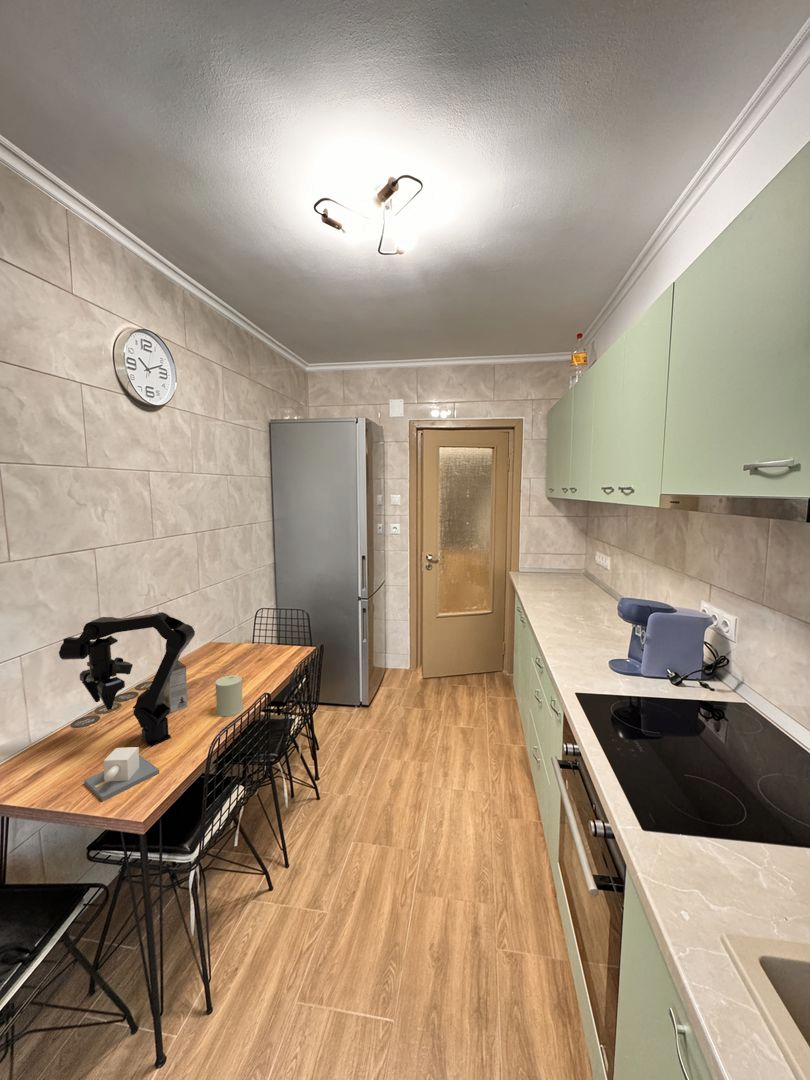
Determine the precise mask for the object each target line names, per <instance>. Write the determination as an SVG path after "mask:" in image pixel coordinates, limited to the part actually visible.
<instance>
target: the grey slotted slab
mask: <svg viewBox="0 0 810 1080" xmlns="http://www.w3.org/2000/svg"><path fill="white" fill-rule="evenodd" d="M159 774H160V769H159V768H158V767H156V766H155V765H154V764H152V763H151V762H150V761H148V759H146V758H144V757H143V756H142V755H140V754H139V768H138V769H137V771H136V772H135V773H134V774H133V775H132V777H131V778H130V779H129V780H128V781H109V782H105V780H104V770H103V771H101V772H99V773H98V772H97V773H95V774H94V775H92V776H89V777H87V778H85V779H84V781H83V783H84V785H85V786H87V788H88V789H90V791H91V792H93V794H94V795H96V797H97V798H98V799H100V800H101V802H105V801H106V800H108V799H111V798H112V797H114V796H116V795H119V794H121V793H123V792H124V791H127V790H128V789H131V788H133V787H135V786H136V785H138V784H140V783H142V782H145V781H147V780H149V779H151V778H152V777H155V776H158V775H159Z"/></svg>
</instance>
